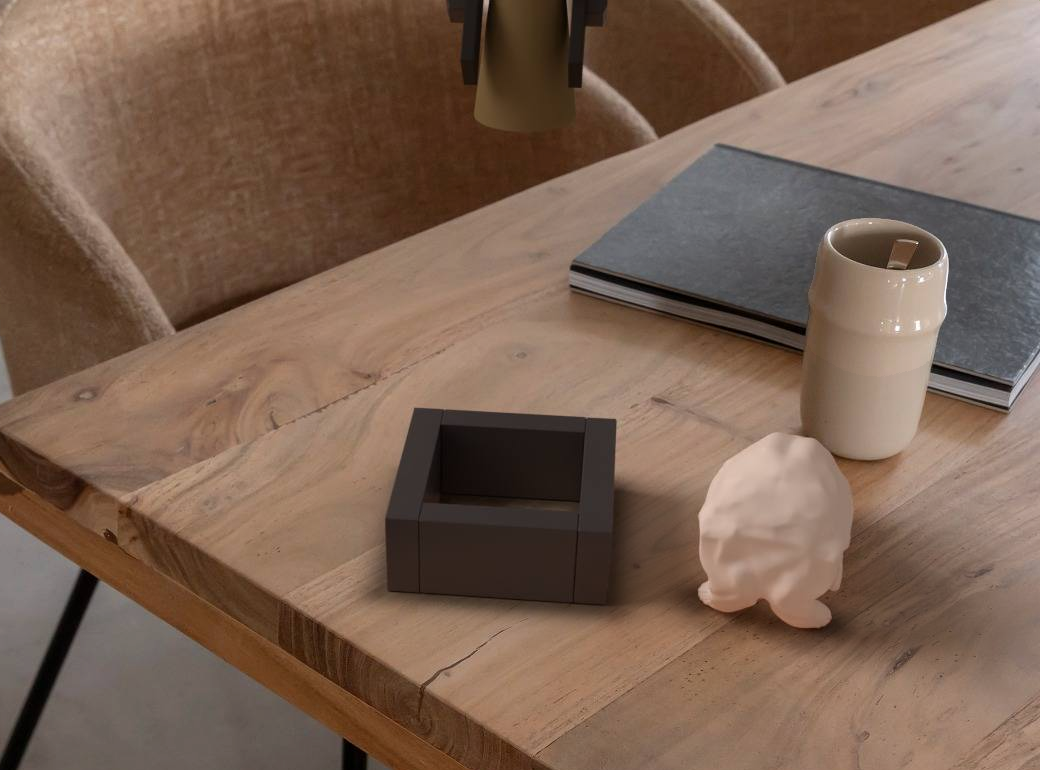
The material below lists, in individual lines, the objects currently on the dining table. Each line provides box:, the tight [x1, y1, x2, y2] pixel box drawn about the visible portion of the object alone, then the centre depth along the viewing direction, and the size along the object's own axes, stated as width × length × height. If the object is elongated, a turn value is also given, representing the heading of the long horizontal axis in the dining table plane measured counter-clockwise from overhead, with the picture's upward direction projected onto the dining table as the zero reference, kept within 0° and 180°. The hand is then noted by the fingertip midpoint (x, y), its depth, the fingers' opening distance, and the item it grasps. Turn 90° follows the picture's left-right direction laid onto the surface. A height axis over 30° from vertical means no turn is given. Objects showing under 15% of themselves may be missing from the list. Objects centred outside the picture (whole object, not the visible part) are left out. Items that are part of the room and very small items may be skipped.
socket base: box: [384, 407, 618, 606], centre depth 69 cm, size 10×10×4 cm
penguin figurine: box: [697, 431, 855, 629], centre depth 65 cm, size 6×8×12 cm
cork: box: [473, 0, 577, 133], centre depth 83 cm, size 6×6×11 cm
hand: (521, 73), depth 81 cm, fingers closed on cork, 5 cm apart
